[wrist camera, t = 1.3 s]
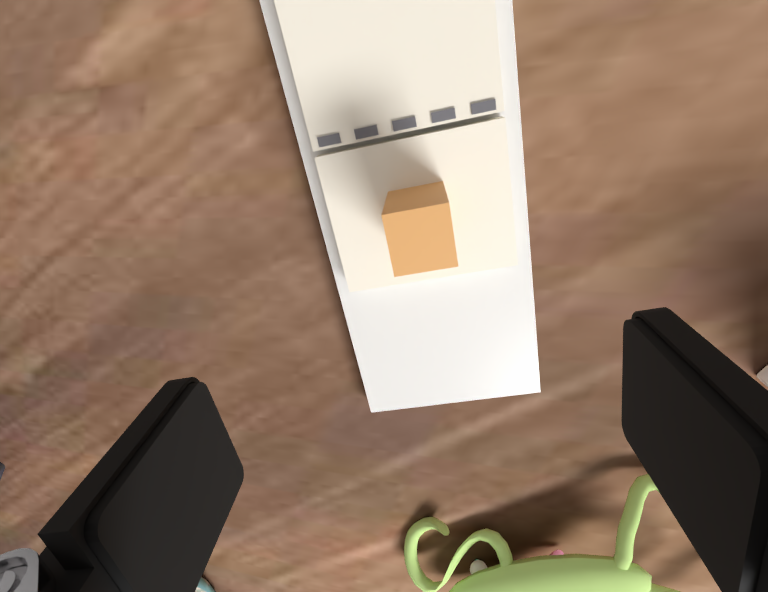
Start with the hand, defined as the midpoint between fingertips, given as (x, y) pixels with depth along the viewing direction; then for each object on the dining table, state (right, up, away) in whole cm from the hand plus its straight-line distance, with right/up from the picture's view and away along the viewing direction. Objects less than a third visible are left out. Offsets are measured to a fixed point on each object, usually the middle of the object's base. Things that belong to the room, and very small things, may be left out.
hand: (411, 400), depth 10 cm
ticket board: (+2, +8, +17) cm, 19 cm away
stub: (+1, +7, +15) cm, 17 cm away
